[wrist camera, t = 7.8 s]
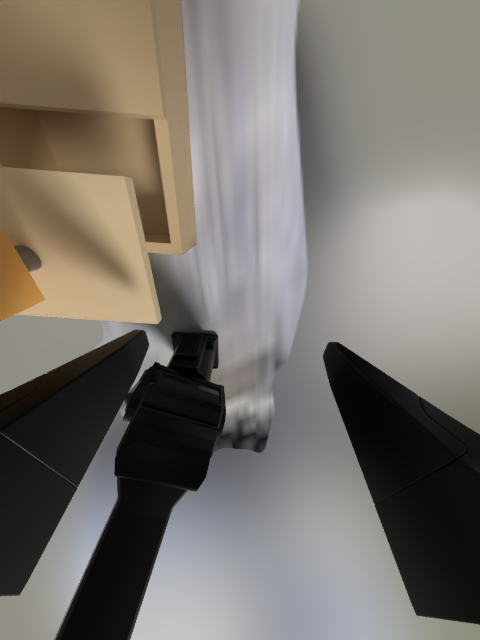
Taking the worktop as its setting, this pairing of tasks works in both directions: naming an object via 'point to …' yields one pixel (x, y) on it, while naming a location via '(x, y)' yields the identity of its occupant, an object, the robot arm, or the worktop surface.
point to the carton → (102, 101)
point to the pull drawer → (73, 248)
